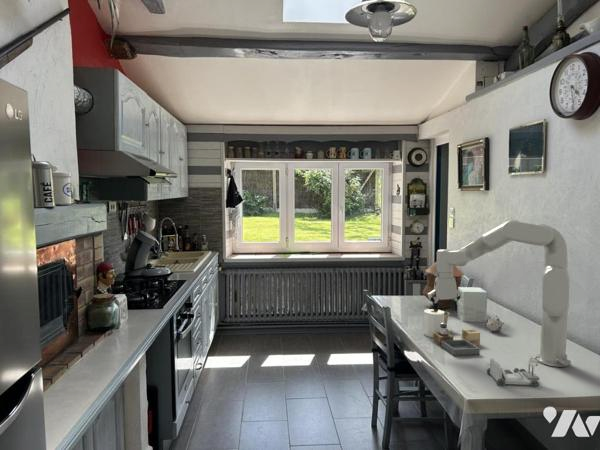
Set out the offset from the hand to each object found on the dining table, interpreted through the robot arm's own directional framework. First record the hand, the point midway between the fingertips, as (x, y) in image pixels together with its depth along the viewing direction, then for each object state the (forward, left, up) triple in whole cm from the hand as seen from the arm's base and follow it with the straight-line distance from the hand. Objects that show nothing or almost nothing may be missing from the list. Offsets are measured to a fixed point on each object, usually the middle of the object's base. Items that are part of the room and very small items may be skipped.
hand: (445, 310), depth 212 cm
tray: (-10, -3, -17) cm, 19 cm away
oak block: (-1, -14, -17) cm, 21 cm away
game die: (+14, -36, -17) cm, 42 cm away
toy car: (-44, -7, -17) cm, 48 cm away
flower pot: (+23, -10, -17) cm, 30 cm away
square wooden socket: (0, 0, -17) cm, 17 cm away
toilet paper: (+14, -2, -17) cm, 22 cm away
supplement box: (+38, -37, -17) cm, 56 cm away
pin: (0, 0, -17) cm, 17 cm away
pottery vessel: (+67, -34, -17) cm, 77 cm away
